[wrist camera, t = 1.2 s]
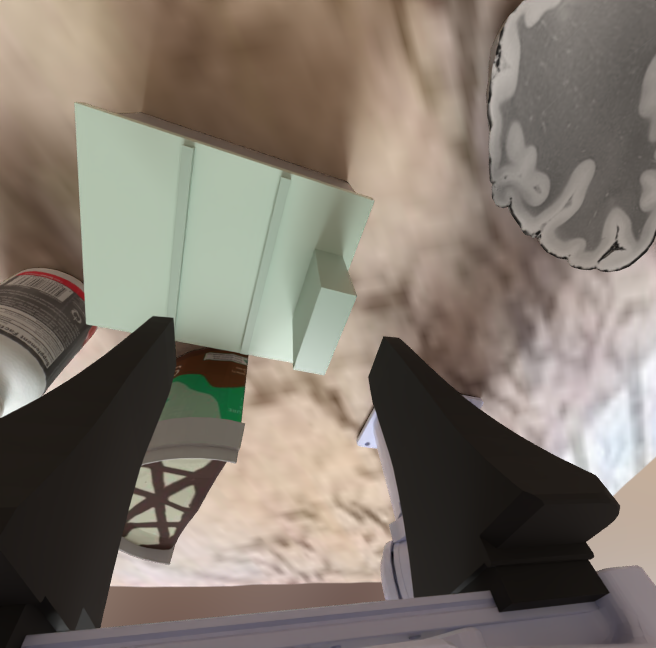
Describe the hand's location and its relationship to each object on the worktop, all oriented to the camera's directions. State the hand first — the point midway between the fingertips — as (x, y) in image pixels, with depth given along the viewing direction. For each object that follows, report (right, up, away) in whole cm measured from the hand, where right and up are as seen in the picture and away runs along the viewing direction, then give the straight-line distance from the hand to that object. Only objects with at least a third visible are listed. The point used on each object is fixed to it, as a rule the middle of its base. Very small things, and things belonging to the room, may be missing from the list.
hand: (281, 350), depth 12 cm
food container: (-9, -4, +15) cm, 18 cm away
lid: (-3, +4, +4) cm, 7 cm away
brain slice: (+19, +13, +8) cm, 24 cm away
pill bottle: (-16, +2, +10) cm, 19 cm away
